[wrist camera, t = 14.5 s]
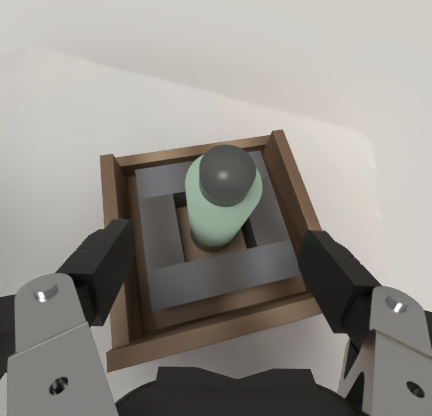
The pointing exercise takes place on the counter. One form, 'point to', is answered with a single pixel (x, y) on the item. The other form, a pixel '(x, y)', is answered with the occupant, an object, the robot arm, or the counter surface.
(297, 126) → the counter surface
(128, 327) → the box
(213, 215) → the mint green cylinder
